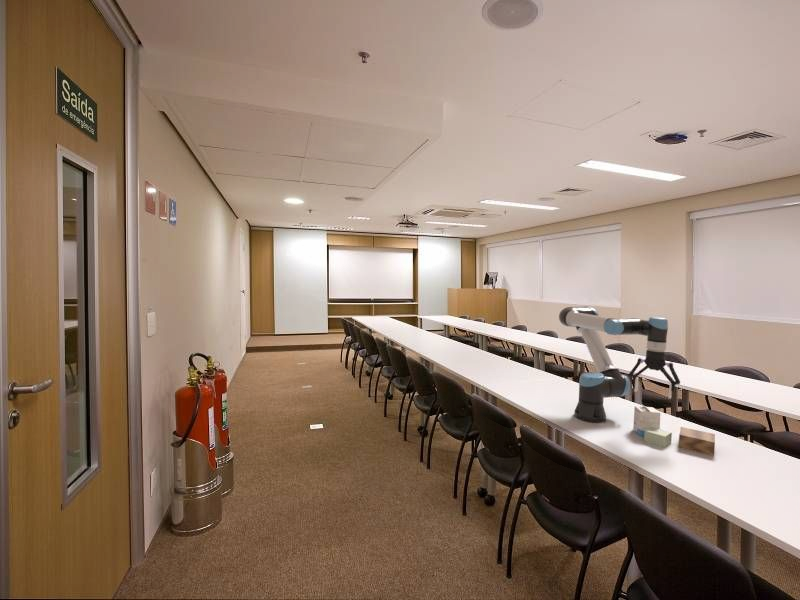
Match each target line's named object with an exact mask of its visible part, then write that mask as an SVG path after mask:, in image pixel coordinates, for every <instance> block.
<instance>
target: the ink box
mask: <svg viewBox="0 0 800 600" xmlns="http://www.w3.org/2000/svg"><path fill="white" fill-rule="evenodd" d="M640 405H642V406H640ZM640 405H639V406H637V405H634V411H633V413H634V414H633V428H632V429H633V430H634V432H636V433H637V434H638V435H639V436H641V437H644V435H645V430H647V429H649V428H651V427H654V428H657V429H660V428H661V412H660V411H659V410H657V409H656V408H654V407H652V406H651V407H650V406H645V405H644V404H642V403H640Z"/></svg>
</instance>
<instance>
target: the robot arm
mask: <svg viewBox="0 0 800 600" xmlns="http://www.w3.org/2000/svg"><path fill="white" fill-rule="evenodd" d="M558 319H559V322H560V323H561V325H562V326H566V327H569V328H570V327H571V328H576V331H577V333H578V334H579V333H580V334H581V335H582V339H583V341H584V342H585V345H586V348H587V350H588V352H589V355H590V357H591V359H592V361H593V364H594V366H595V369H596V372H595V371H594V372H593V371H587V372H583V373H581V375H580V376H579V381H578V401H577V404H576V406H575V409H574V415H573V416H574V417H575V418H576V419H579V420H581V421H584V422H589V423H596V424H597V423H605V422H606V421H607V414H606V410H605V407H604V398H606V399H607V398H619V397H624V396H626V395H627V394H628V393H629V391H630V388H631V383H630V379H629V378H628V376H629V377H632V384H633V385H634V391H633V392H635V393H636V392H638V388H639V377H638V376H640V375H641V374H642V373H644V372H645V371H646V370H648V369H649V370H651V371H652V370H653V371H660V372H661V373H662V374H663V375H664V377H665V378H666V379H667V380H668V381H669V388H668V399H672V392H675V390H676V389H675V388H676V385H680V384H681V379H680V378H679V376H678V374H677V372H676V370H675V368H674V363H673V362H667V361H666V351H667V336H668V329H669V324H668V323H669V322H668V319H667V318H665V317H655V316H652V317H650V316H649V318H648V319H647V320H645V319H640V318H633V317H632V318H628V319H627V318H626V319H625V318H624V319H619V318H613V317H608V316H601V315H599V313H598V311H597V309H594V308H593V307H590V306H589V307H588V306H567V307H564V308H562V309H561V311H560V312H559V314H558ZM600 332H603V333H607V335H610V336H620V335H621V336H622V335H623V336H624V335H625V336H626V335H627V336H628V335H638V336H639V335H640V336H646V337H647V340H646V341H647V342H646V353H645V358H642V357H638V359H637V362H636V364H635V365H634V366H633V368H632V369H631V370H630V372H629V373H628V376H627V375H625V374H623V373H621V372H620V370H619V368H618V367H615V366H614V364H613V362H612V360H611V357H610V354H609V352H608V350H607V348H606V346H605V344H604V341H603V340H602V337H601V335H600ZM643 363H644V364H645V366H643V368H641V369H640V370H638V371H637V372H636V370H637V369H638V368H639V367H640V365H641V364H643ZM665 366H667V368H669V371H670V373H671V374H672V376H671V375H670V374H669V372H668V371H667V370H666V368H665ZM635 372H636V373H635ZM634 373H635V374H634Z"/></svg>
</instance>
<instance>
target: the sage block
mask: <svg viewBox="0 0 800 600" xmlns="http://www.w3.org/2000/svg"><path fill="white" fill-rule="evenodd" d="M672 433H673V432H671V431H667V430H664V429H657V428H654V427H651V428H649V429H647V430H645V435H644V436H643V438H644V439H643V441H644V442H646V443H650V444H652V445H656V446H659V447H661V448H666V447H667V446H670V444H672V435H673V434H672Z"/></svg>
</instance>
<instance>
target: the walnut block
mask: <svg viewBox="0 0 800 600" xmlns="http://www.w3.org/2000/svg"><path fill="white" fill-rule="evenodd" d="M715 443H716V434H715V433H711V432H706V431H702V430H696V429H692V428H687V427H684V426H683V427H682V426H680V430H679V436H678V448H679V449H683V450H687V451H691V450H692V452H695V451H696V453H699V454H700V453H701V454H704V455H709V456H712V457H715V445H716V444H715Z"/></svg>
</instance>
